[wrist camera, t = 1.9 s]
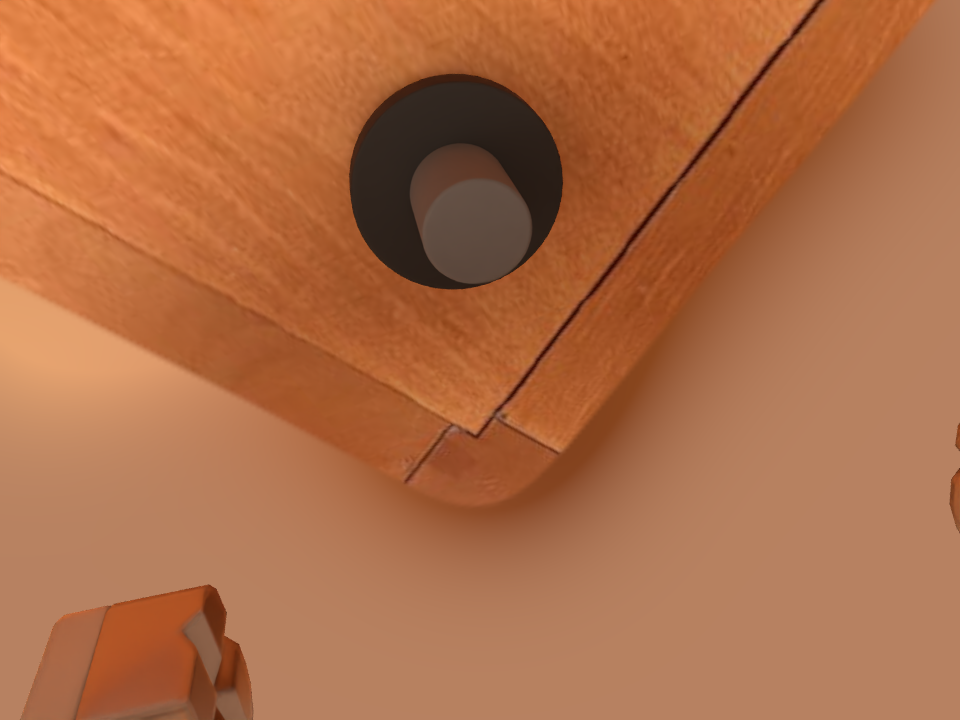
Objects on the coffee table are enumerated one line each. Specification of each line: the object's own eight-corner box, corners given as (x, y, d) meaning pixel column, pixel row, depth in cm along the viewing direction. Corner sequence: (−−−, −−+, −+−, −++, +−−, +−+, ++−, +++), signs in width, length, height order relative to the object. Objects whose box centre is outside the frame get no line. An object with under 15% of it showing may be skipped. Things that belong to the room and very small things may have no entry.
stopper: (522, 40, 24) (583, 87, 18) (546, 226, 26) (606, 315, 21) (326, 78, 24) (329, 137, 18) (369, 263, 26) (383, 363, 21)
